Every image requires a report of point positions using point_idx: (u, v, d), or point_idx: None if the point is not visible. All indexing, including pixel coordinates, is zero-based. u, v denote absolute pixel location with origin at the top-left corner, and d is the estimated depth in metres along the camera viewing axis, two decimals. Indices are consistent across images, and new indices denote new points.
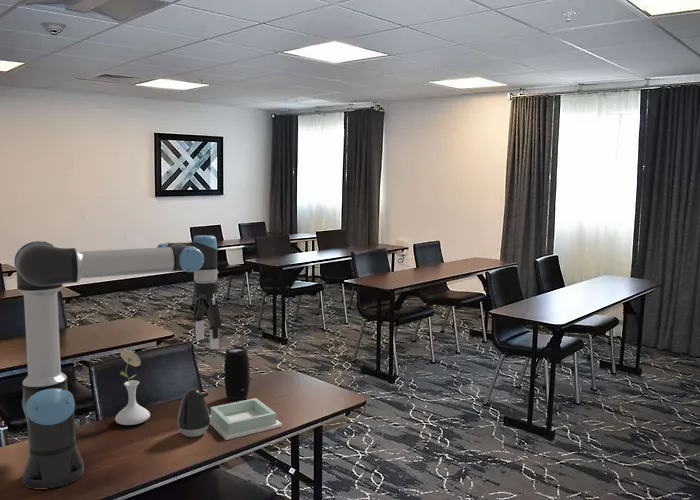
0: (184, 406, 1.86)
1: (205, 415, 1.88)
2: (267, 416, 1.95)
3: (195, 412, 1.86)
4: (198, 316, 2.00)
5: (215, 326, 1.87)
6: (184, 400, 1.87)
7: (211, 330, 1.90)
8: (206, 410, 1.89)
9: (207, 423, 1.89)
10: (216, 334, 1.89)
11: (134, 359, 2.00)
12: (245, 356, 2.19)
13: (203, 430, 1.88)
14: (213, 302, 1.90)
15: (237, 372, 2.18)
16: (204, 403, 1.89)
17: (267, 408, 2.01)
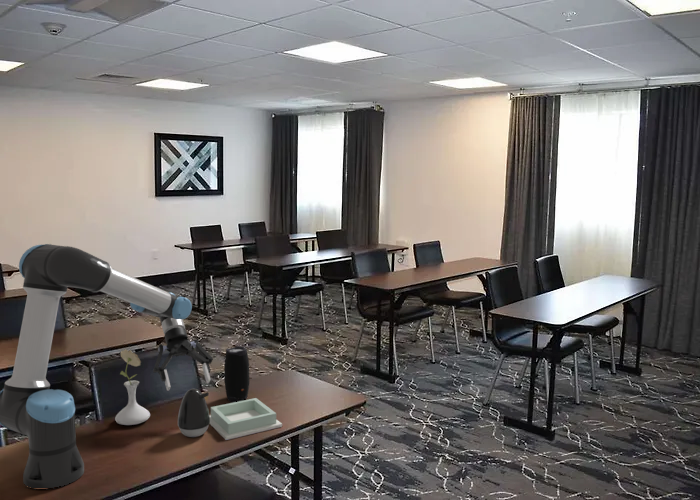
0: (184, 406, 1.86)
1: (205, 415, 1.88)
2: (267, 416, 1.95)
3: (195, 412, 1.86)
4: (166, 365, 1.97)
5: None
6: (184, 400, 1.87)
7: (205, 364, 2.02)
8: (206, 410, 1.89)
9: (207, 423, 1.89)
10: None
11: (134, 359, 2.00)
12: (245, 356, 2.19)
13: (203, 430, 1.88)
14: None
15: (237, 372, 2.18)
16: (204, 403, 1.89)
17: (267, 408, 2.01)
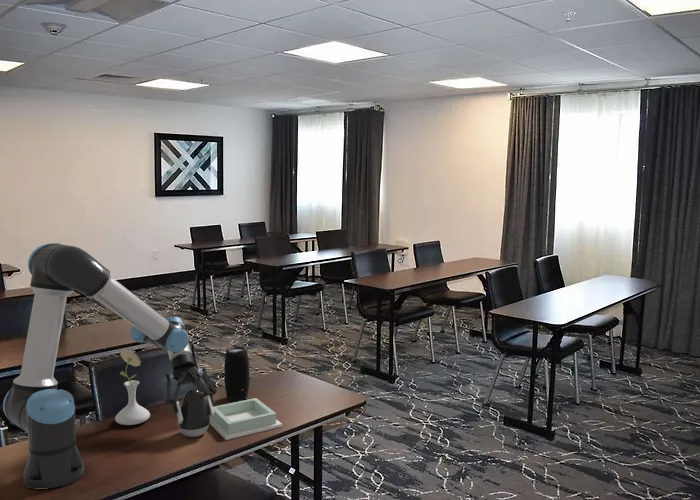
0: (184, 406, 1.86)
1: (205, 415, 1.88)
2: (267, 416, 1.95)
3: (195, 412, 1.86)
4: (177, 395, 1.89)
5: None
6: (184, 400, 1.87)
7: None
8: (206, 410, 1.89)
9: (207, 423, 1.89)
10: None
11: (134, 359, 2.00)
12: (245, 356, 2.19)
13: (203, 430, 1.88)
14: None
15: (237, 372, 2.18)
16: (204, 403, 1.89)
17: (267, 408, 2.01)
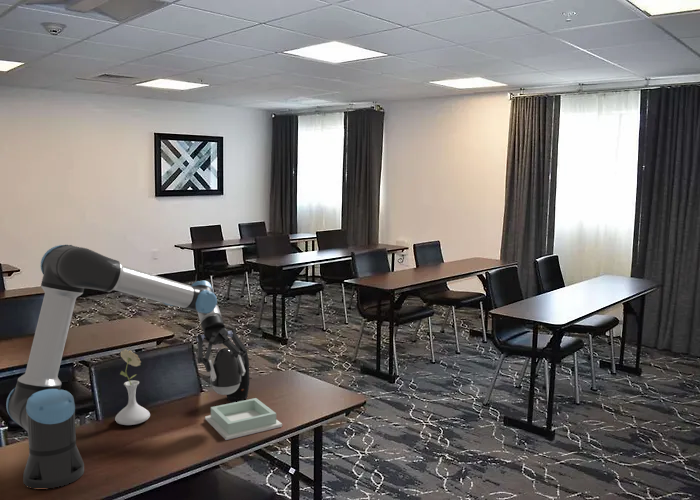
0: (216, 365, 1.92)
1: (237, 373, 1.93)
2: (267, 416, 1.95)
3: (227, 370, 1.91)
4: (209, 354, 1.94)
5: None
6: (216, 359, 1.92)
7: None
8: (238, 368, 1.94)
9: (239, 381, 1.94)
10: None
11: (134, 359, 2.00)
12: (245, 356, 2.19)
13: (235, 388, 1.93)
14: None
15: None
16: (236, 362, 1.94)
17: (267, 408, 2.01)
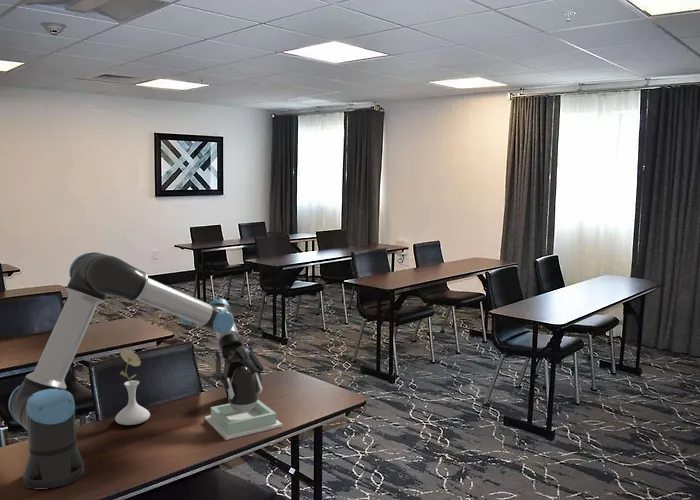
0: (234, 383, 1.95)
1: (254, 391, 1.97)
2: (267, 416, 1.95)
3: (245, 388, 1.95)
4: None
5: None
6: (234, 377, 1.96)
7: None
8: (255, 386, 1.98)
9: (256, 399, 1.98)
10: None
11: (134, 359, 2.00)
12: None
13: (252, 405, 1.97)
14: None
15: None
16: (253, 380, 1.98)
17: (267, 408, 2.01)
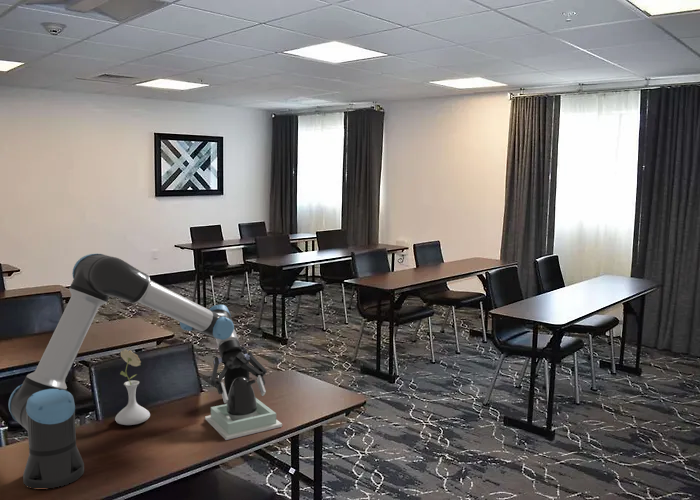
0: (232, 393, 1.95)
1: (252, 401, 1.97)
2: (267, 416, 1.95)
3: (243, 398, 1.95)
4: (222, 377, 1.98)
5: None
6: (233, 387, 1.96)
7: None
8: (253, 396, 1.98)
9: (255, 409, 1.98)
10: None
11: (134, 359, 2.00)
12: None
13: (251, 415, 1.97)
14: None
15: (237, 372, 2.18)
16: (251, 390, 1.98)
17: (267, 408, 2.01)
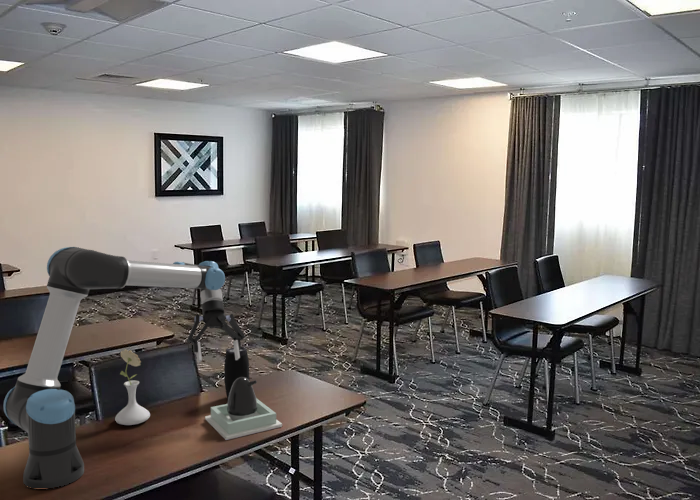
0: (233, 393, 1.95)
1: (253, 402, 1.97)
2: (267, 416, 1.95)
3: (244, 399, 1.95)
4: None
5: None
6: (233, 387, 1.96)
7: (237, 341, 2.06)
8: (254, 397, 1.98)
9: (255, 409, 1.98)
10: None
11: (134, 359, 2.00)
12: (245, 356, 2.19)
13: (251, 416, 1.97)
14: None
15: (237, 372, 2.18)
16: (252, 390, 1.98)
17: (267, 408, 2.01)
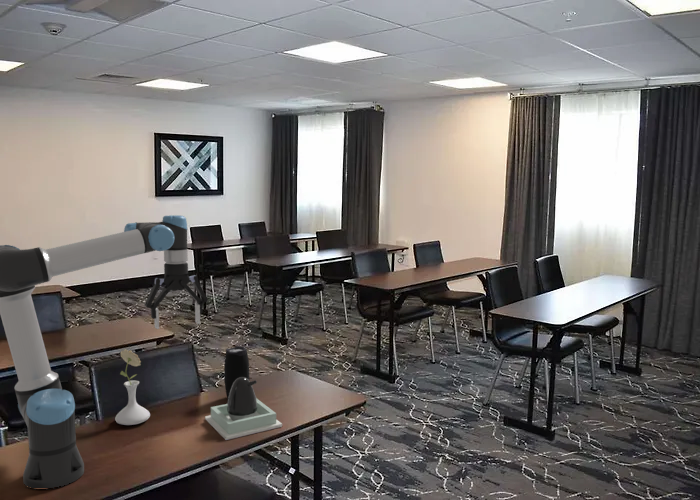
0: (233, 393, 1.95)
1: (253, 402, 1.97)
2: (267, 416, 1.95)
3: (244, 399, 1.95)
4: None
5: None
6: (234, 387, 1.96)
7: None
8: (254, 397, 1.98)
9: (255, 409, 1.98)
10: None
11: (134, 359, 2.00)
12: (245, 356, 2.19)
13: (251, 416, 1.97)
14: None
15: (237, 372, 2.18)
16: (252, 390, 1.98)
17: (267, 408, 2.01)
